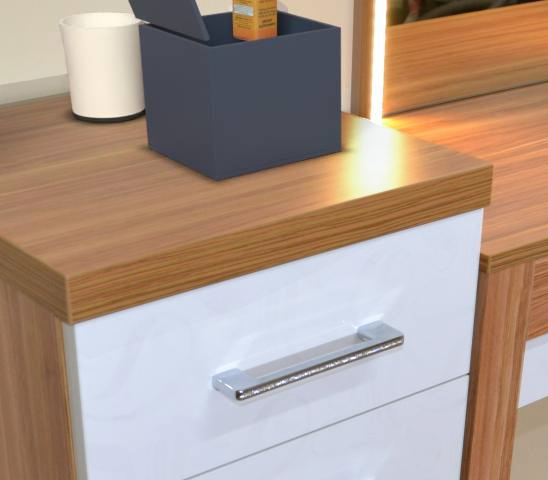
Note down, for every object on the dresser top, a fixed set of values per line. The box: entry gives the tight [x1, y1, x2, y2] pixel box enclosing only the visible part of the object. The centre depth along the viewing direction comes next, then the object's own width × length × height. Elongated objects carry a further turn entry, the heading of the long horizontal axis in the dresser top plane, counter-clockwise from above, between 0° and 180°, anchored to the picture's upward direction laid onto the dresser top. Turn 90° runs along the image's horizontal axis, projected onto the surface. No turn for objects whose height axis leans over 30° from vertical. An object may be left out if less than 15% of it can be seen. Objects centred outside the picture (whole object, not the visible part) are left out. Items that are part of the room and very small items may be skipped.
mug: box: [58, 11, 149, 124], centre depth 127 cm, size 11×9×10 cm
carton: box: [138, 10, 342, 182], centre depth 115 cm, size 15×13×12 cm
